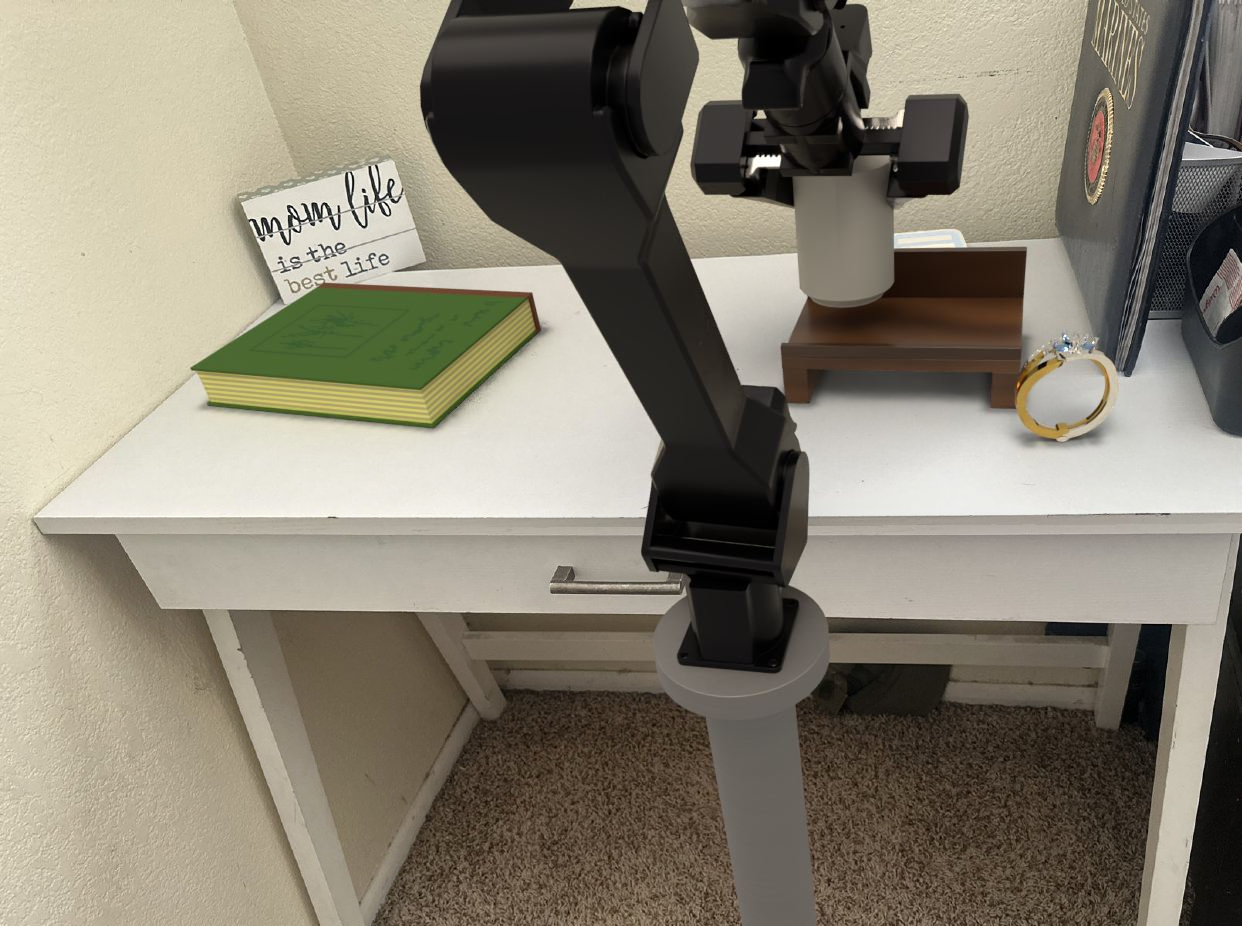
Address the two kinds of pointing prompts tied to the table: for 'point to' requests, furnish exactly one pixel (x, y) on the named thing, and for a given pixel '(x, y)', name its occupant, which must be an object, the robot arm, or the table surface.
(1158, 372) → the table surface
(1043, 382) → the table surface
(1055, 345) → the ring
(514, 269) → the table surface
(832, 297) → the can
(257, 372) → the hardcover book
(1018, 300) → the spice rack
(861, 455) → the table surface
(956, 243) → the calculator
